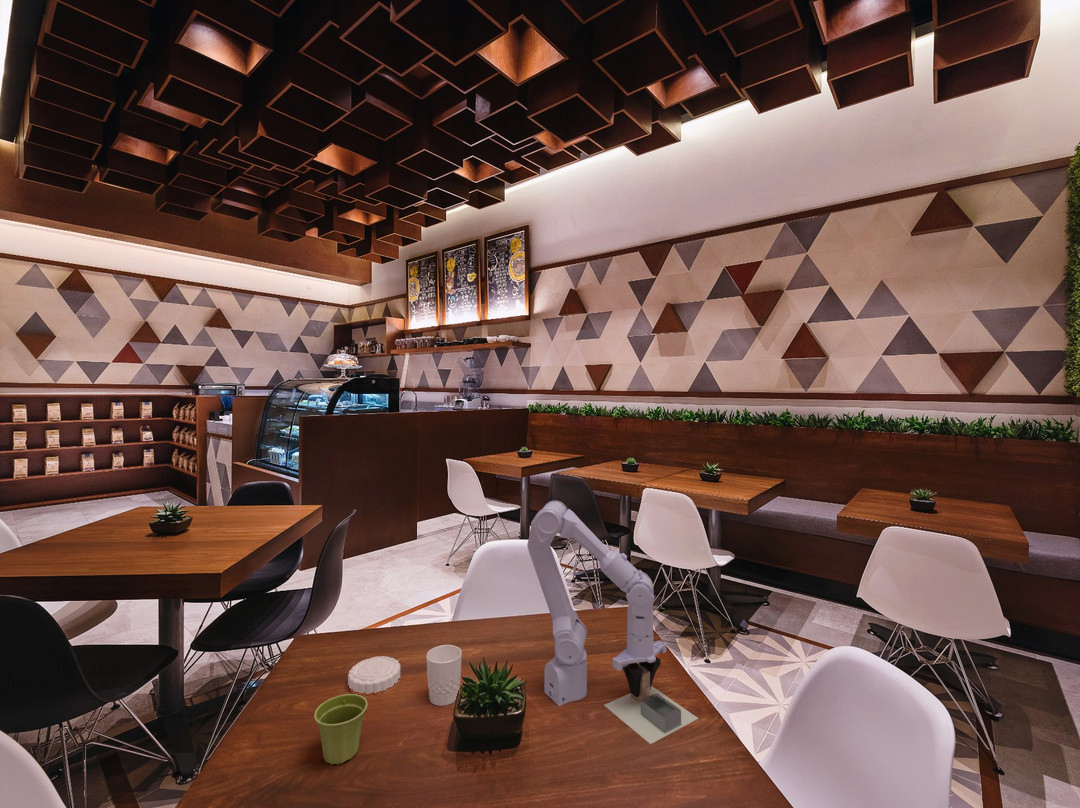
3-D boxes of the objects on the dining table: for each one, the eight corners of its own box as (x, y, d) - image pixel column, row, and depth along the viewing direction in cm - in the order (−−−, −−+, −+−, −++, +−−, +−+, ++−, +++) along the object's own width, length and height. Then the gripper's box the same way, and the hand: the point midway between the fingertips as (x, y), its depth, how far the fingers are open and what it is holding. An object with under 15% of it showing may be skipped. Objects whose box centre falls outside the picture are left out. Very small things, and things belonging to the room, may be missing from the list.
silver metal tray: (664, 733, 95) (664, 718, 95) (640, 714, 100) (640, 700, 100) (681, 724, 97) (681, 710, 97) (656, 706, 103) (656, 692, 103)
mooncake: (348, 702, 106) (348, 686, 106) (347, 674, 117) (347, 660, 117) (403, 689, 111) (403, 674, 111) (397, 663, 122) (397, 650, 122)
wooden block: (643, 706, 103) (643, 674, 103) (630, 696, 106) (630, 665, 106) (650, 703, 104) (650, 671, 104) (637, 693, 107) (637, 663, 107)
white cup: (423, 691, 110) (423, 648, 110) (457, 683, 113) (457, 641, 113) (430, 711, 103) (429, 666, 103) (465, 702, 106) (465, 658, 106)
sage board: (650, 749, 92) (650, 744, 92) (603, 709, 103) (603, 705, 103) (698, 723, 99) (698, 718, 99) (649, 688, 111) (649, 684, 111)
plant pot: (328, 735, 95) (328, 692, 95) (374, 736, 95) (374, 693, 95) (304, 771, 86) (304, 724, 86) (355, 773, 86) (355, 725, 86)
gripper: (628, 648, 98) (628, 713, 98) (676, 630, 106) (676, 690, 106) (606, 633, 104) (606, 695, 104) (653, 617, 112) (653, 675, 112)
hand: (640, 691), depth 105 cm, fingers open, 3 cm apart
